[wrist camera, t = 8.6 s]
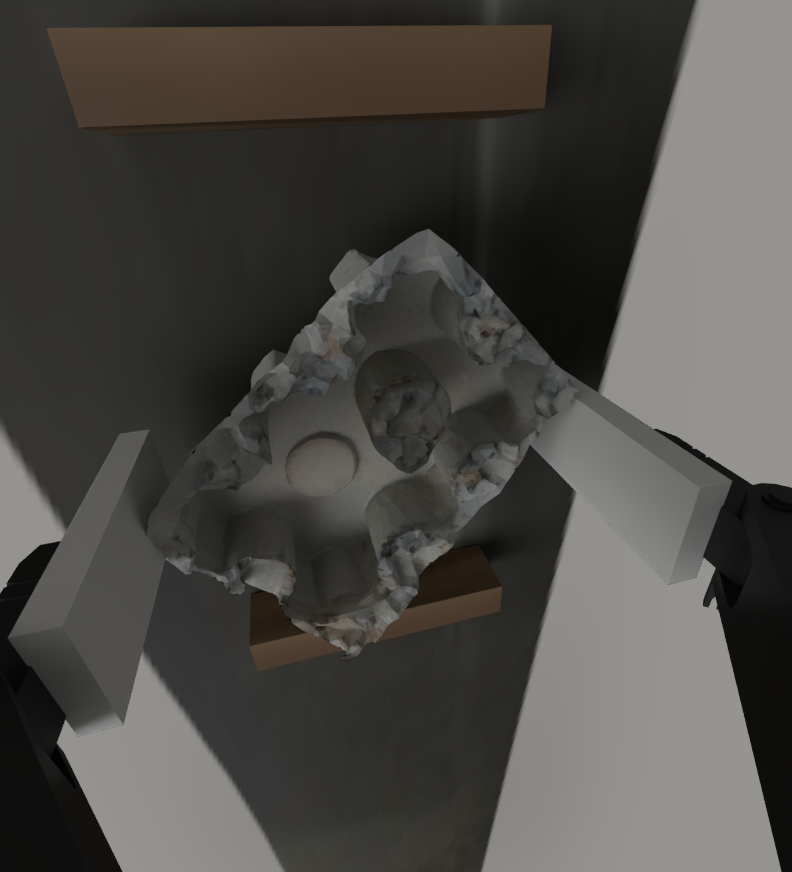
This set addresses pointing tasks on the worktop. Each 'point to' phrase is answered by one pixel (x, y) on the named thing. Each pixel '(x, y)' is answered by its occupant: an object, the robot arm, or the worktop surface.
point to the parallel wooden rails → (301, 107)
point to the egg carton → (364, 444)
